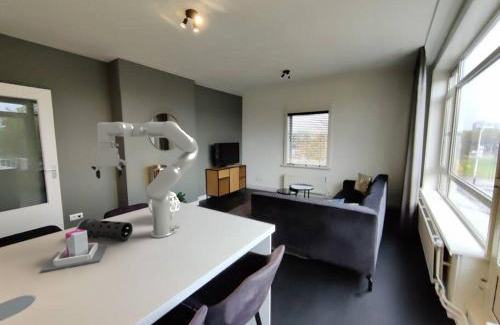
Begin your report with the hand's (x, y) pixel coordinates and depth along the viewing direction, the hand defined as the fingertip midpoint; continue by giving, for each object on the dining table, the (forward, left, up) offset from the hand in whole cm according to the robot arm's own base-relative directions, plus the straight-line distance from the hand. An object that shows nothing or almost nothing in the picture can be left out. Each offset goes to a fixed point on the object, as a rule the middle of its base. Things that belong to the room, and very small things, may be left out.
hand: (109, 177), depth 118 cm
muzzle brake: (+4, +1, -34) cm, 34 cm away
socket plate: (+11, +19, -33) cm, 40 cm away
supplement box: (+11, +19, -32) cm, 39 cm away
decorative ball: (-27, -19, -34) cm, 47 cm away
